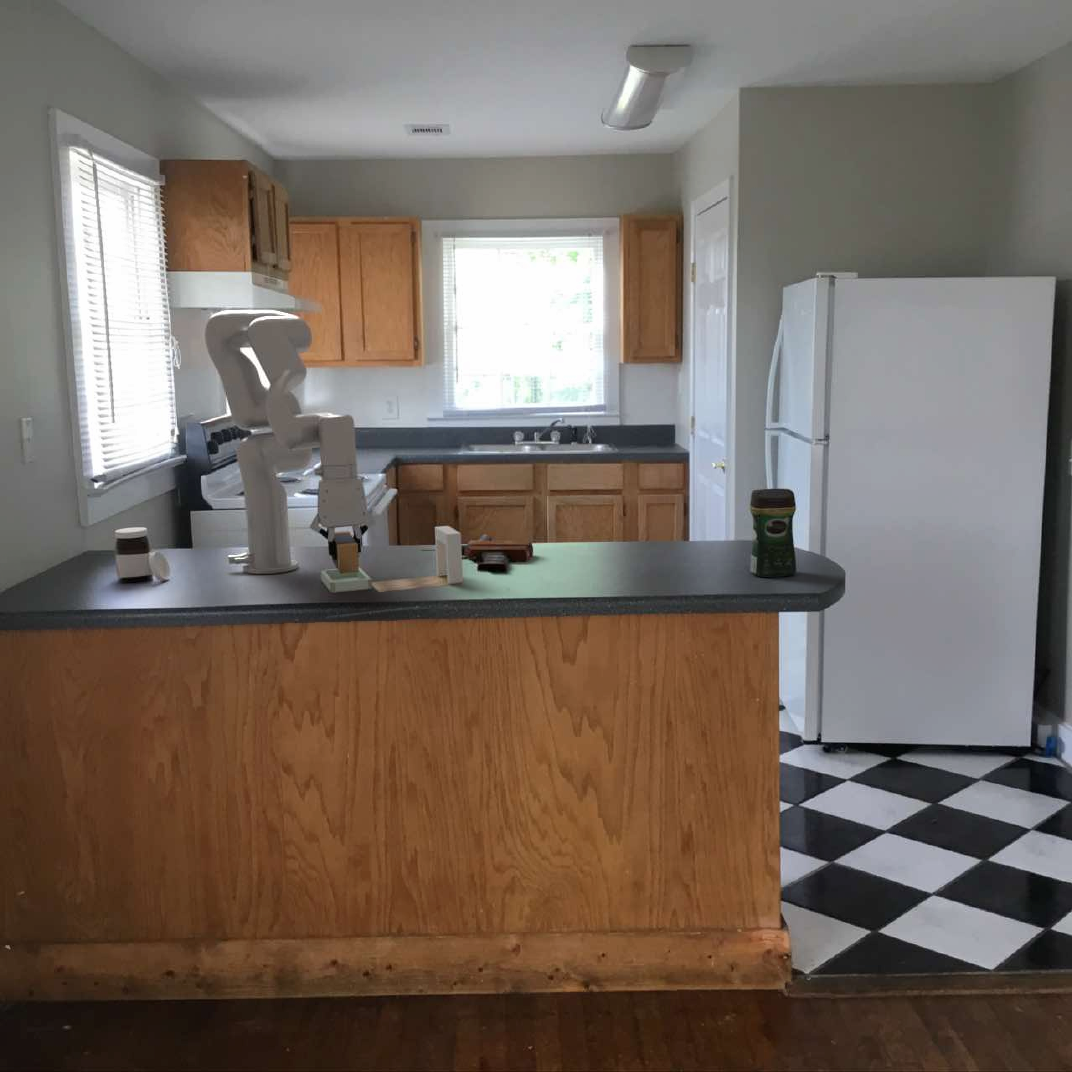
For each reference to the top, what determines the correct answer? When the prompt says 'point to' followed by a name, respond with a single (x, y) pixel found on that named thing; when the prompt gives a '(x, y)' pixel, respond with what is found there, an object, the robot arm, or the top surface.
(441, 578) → the holder
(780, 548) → the coffee jar
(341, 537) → the block
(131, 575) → the spread jar
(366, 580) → the tray
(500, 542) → the tool
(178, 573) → the top surface
